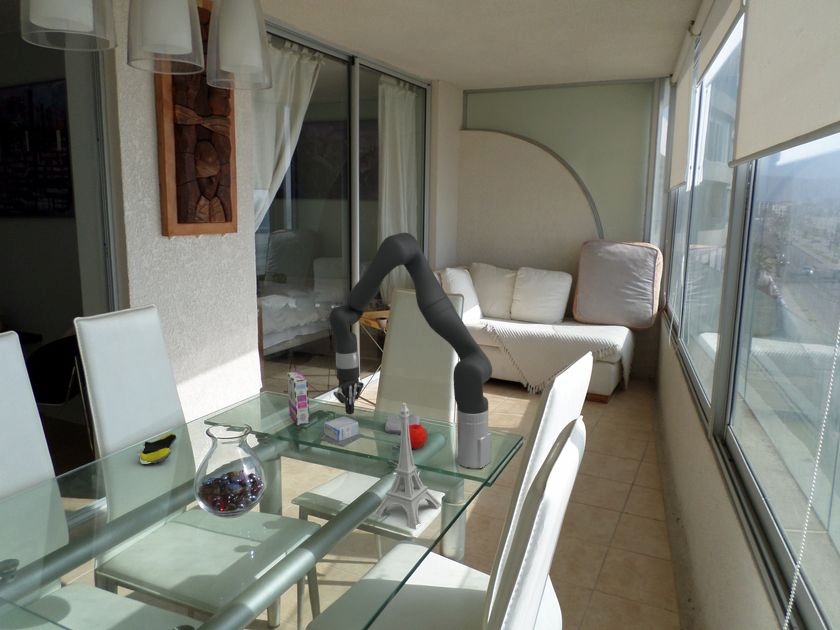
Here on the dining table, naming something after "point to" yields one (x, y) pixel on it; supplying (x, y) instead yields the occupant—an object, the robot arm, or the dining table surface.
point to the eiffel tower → (407, 480)
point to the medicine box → (341, 428)
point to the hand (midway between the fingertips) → (350, 413)
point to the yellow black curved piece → (158, 449)
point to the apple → (417, 436)
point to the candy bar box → (298, 398)
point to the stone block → (399, 423)
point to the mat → (342, 442)
